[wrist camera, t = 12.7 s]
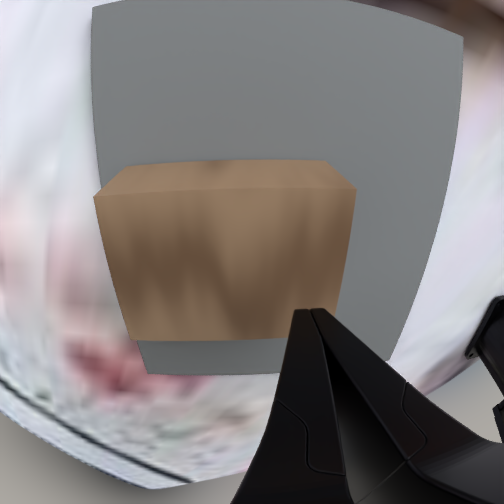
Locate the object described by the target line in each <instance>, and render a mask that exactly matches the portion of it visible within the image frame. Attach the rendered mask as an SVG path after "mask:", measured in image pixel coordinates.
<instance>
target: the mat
mask: <svg viewBox="0 0 504 504" xmlns="http://www.w3.org/2000/svg"><path fill="white" fill-rule="evenodd" d="M462 72H463V37H462V36H459V35H457V34H455V33H452V32H450V31H447V30H445V29H442V28H440V27H437V26H435V25H432V24H429V23H426V22H424V21H421V20H418V19H415V18H412V17H409V16H406V15H402V14H399V13H396V12H392V11H389V10H385V9H381V8H378V7H374V6H370V5H365V4H361V3H356V2H352V1H347V0H122V1H117V2H113V3H108V4H104V5H100V6H96V7H93V8H92V28H91V83H92V104H93V119H94V131H95V141H96V151H97V159H98V167H99V175H100V182H101V188H103V187H104V186H105V185H106V184H107V183H108V182H109V181H111V180H112V179H113V178H114V177H115V176H116V175H117V174H118V173H119V172H120V171H122V170H123V169H124V168H125V167H126V166H135V165H147V164H159V163H174V162H191V161H214V160H320V161H326V162H327V163H329V164H330V165H331V166H332V167H333V168H334V169H335V170H337V171H338V172H339V173H340V174H341V175H342V176H343V177H344V178H345V179H347V180H348V181H349V182H350V183H351V184H352V185H353V186H354V187H355V188H356V189H357V193H356V200H355V207H354V214H353V221H352V227H351V234H350V240H349V246H348V251H347V257H346V263H345V268H344V273H343V279H342V284H341V289H340V294H339V299H338V303H337V308H336V313H335V318H336V319H337V320H338V321H340V322H341V323H342V324H343V325H344V326H345V327H346V328H348V329H349V330H350V331H351V332H352V333H353V334H354V335H356V336H357V337H358V338H359V339H360V340H361V341H362V342H363V343H365V344H366V345H367V346H368V347H369V348H370V349H371V350H373V351H374V352H375V353H376V354H377V355H378V356H379V357H380V358H382V359H383V360H384V361H388V360H389V359H390V357H391V355H392V353H393V351H394V348H395V346H396V344H397V342H398V339H399V337H400V335H401V332H402V330H403V327H404V325H405V322H406V320H407V317H408V315H409V312H410V310H411V307H412V305H413V302H414V299H415V297H416V294H417V291H418V288H419V285H420V282H421V280H422V277H423V274H424V271H425V268H426V264H427V261H428V258H429V255H430V252H431V248H432V245H433V242H434V238H435V235H436V231H437V227H438V223H439V220H440V216H441V212H442V208H443V204H444V199H445V195H446V190H447V186H448V181H449V176H450V171H451V166H452V160H453V154H454V148H455V142H456V135H457V128H458V120H459V111H460V101H461V89H462ZM287 340H288V338H273V339H253V340H224V341H148V340H137V343H138V346H139V349H140V352H141V355H142V358H143V361H144V364H145V367H146V370H147V373H148V374H165V375H249V374H270V373H280V371H281V367H282V363H283V358H284V354H285V349H286V345H287Z"/></svg>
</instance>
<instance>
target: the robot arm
mask: <svg viewBox="0 0 504 504" xmlns="http://www.w3.org/2000/svg"><path fill="white" fill-rule="evenodd" d="M478 356H479V357H480V359H481V360H482V361H483V363H484V365H485V366H486V368H487V369H488V371H489V373H490V374H491V376H492V377H493V379H494V381H495V382H496V384H497V386H498V387H499V389H500V391H501V392H502V394H503V396H504V296H499V297H497V298H495V300H494V301H493V303H492V305H491V307H490V309H489V311H488V313H487V315H486V317H485V319H484V321H483V322H482V324H481V326H480V328H479V330H478V332H477V334H476V335H475V337H474V339H473V341H472V342H471V344H470V346H469V348H468V349H467V351H466V353H465V357H466V358H467V359H471V358H475V357H478ZM493 413H494V416H495V421H496V424H497V427H498V430H499V434H500V437H501V440H502V443H496V442H492V441H489V440H487V439H484V438H482V437H480V436H479V435H477V434H476V433H474V432H473V431H471V430H470V429H469V428H467V427H466V426H464V425H463V424H461V423H460V422H458V421H457V420H455V419H454V418H453V417H451V416H450V415H449V414H447V413H446V412H444V411H443V410H442V409H440V408H439V407H438V406H436V405H435V404H434V403H432V402H431V401H430V400H429V399H428V398H426V397H425V396H424V395H423V394H422V393H420V392H419V391H418V390H417V389H416V388H415V387H413V386H412V385H411V384H410V383H409V382H406V380H405V379H404V378H403V377H402V376H401V375H400V374H399V373H397V372H396V371H395V370H394V369H393V368H392V367H391V366H390V365H388V364H387V363H386V362H385V361H384V360H383V359H382V358H380V357H379V356H378V355H377V354H376V353H375V352H374V351H373V350H371V349H370V348H369V347H368V346H367V345H366V344H365V343H363V342H362V341H361V340H360V339H359V338H358V337H357V336H356V335H354V334H353V333H352V332H351V331H350V330H349V329H348V328H346V327H345V326H344V325H343V324H342V323H341V322H340V321H338V320H337V319H336V318H335V317H334V316H333V315H332V314H331V313H329V312H328V311H327V310H326V309H325V308H311V309H295V310H294V312H293V316H292V321H291V326H290V331H289V335H288V340H287V345H286V349H285V354H284V358H283V363H282V367H281V371H280V376H279V380H278V384H277V389H276V393H275V397H274V402H273V404H272V408H271V412H270V416H269V419H268V423H267V426H266V429H265V432H264V435H263V437H262V439H261V442H260V444H259V447H258V449H257V451H256V453H255V456H254V458H253V460H252V462H251V464H250V466H249V468H248V470H247V472H246V474H245V476H244V479H243V480H242V482H241V484H240V486H239V488H238V490H237V492H236V494H235V496H234V498H233V500H232V501H231V503H230V504H504V400H503V401H502V402H500V403H499V404H497V405H496V406H495V407H494V408H493Z"/></svg>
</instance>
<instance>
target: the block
mask: <svg viewBox="0 0 504 504" xmlns="http://www.w3.org/2000/svg"><path fill="white" fill-rule="evenodd" d="M356 193H357V189H356V188H355V187H354V186H353V185H352V184H351V183H350V182H349V181H348V180H347V179H345V178H344V177H343V176H342V175H341V174H340V173H339V172H338V171H337V170H335V169H334V168H333V167H332V166H331V165H330V164H329V163H327V162H326V161H320V160H214V161H191V162H174V163H159V164H147V165H135V166H126V167H125V168H124V169H123V170H122V171H120V172H119V173H118V174H117V175H116V176H115V177H114V178H113V179H112V180H111V181H109V182H108V183H107V184H106V185H105V186H104V187H103V188H102V189H101V190H100V191H99V192H98V193H97V194H96V195H95V196H94V197H93V198H94V203H95V208H96V214H97V218H98V223H99V228H100V233H101V237H102V241H103V246H104V250H105V254H106V258H107V262H108V266H109V270H110V274H111V277H112V281H113V285H114V288H115V292H116V295H117V298H118V302H119V305H120V308H121V312H122V315H123V318H124V321H125V324H126V327H127V330H128V333H129V336H130V339H131V340H148V341H224V340H253V339H273V338H288V335H289V331H290V326H291V321H292V316H293V312H294V310H295V309H311V308H325V309H326V310H327V311H328V312H329V313H331V314H332V315H333V316H334V317H335V313H336V308H337V303H338V299H339V294H340V289H341V284H342V279H343V273H344V268H345V263H346V257H347V251H348V246H349V240H350V234H351V227H352V221H353V214H354V207H355V200H356Z"/></svg>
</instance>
